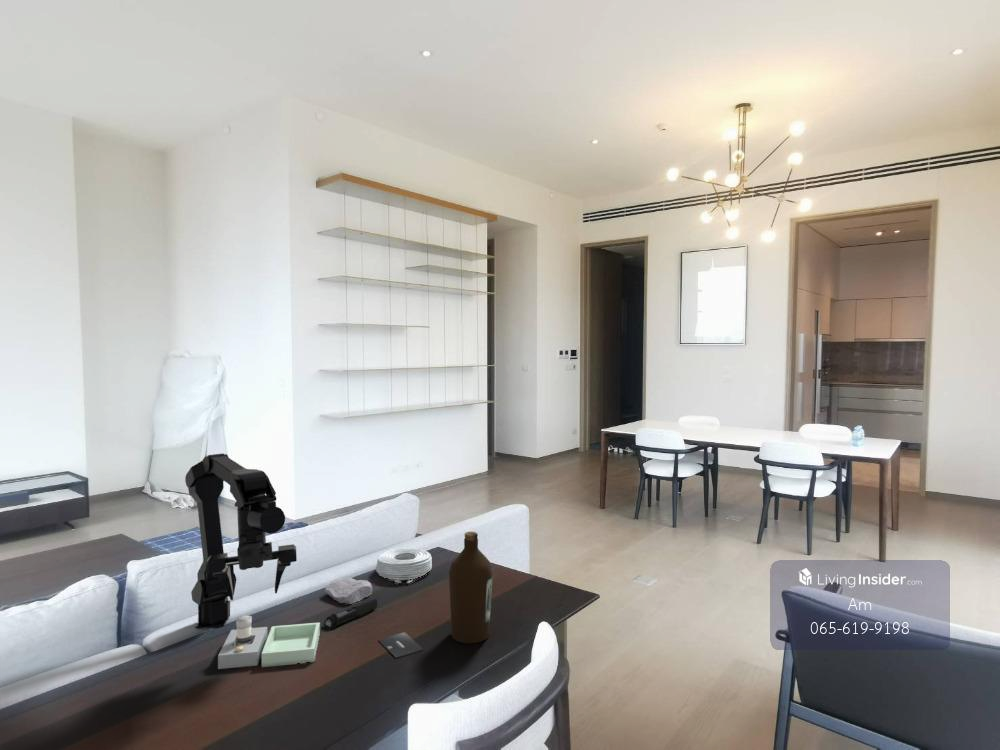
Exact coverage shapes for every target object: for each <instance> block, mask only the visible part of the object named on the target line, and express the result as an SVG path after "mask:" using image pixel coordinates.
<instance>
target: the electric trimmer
mask: <svg viewBox="0 0 1000 750" xmlns="http://www.w3.org/2000/svg"><path fill="white" fill-rule="evenodd" d="M377 607H378V599H377V598H373V599H370V600H368V601H365V602H362V603H360V604H357V605H354V606H352V607H350V608H346V609H344V610H342V611H339V612H337V613H331V615H329V616H327V617H326V618H325V620H324V623H323V627H324V626H325V627H327V628H328V629H327V628H326V629H327V630H329V629H330V630H331V631H332V630H335V629H336V628H337V626H339V625H342V624H344V623H347V622H348V621H350V620H354V619H355V618H357V617H359V618H361V617H363V616H364V615H367V614H368V613H370V612H372V611H373V610H375V609H376V608H377ZM357 619H358V618H357ZM325 627H324V628H325ZM334 628H335V629H334Z"/></svg>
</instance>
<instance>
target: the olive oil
mask: <svg viewBox="0 0 1000 750" xmlns="http://www.w3.org/2000/svg"><path fill="white" fill-rule="evenodd" d="M478 534H479V533H478V532H476V531H467V532H465V533H464V540H463V543H464V544H463V545H464V546H463V549H462V550H461V552H460V553H459V554H458V555H456V556H455V557H454V559H453V560H452V562H451V564H450V568H449V570H448V582H449V604H450V605H449V606H450V635H451V637H452V639H453V640H454V641H456V642H458V643H462V644H478V643H481V642H483V641H486V640H487V639H488V638H489V637H490V631H491V630H490V628H491V627H490V626H491V609H492V605H491V604H492V591H493V590H492V589H493V567H492V564H491V562H490V560H489V559H488V558H487V557H486V555H485V554H483V553H482V551H481V550H480V549H479V539H478V537H479V535H478Z"/></svg>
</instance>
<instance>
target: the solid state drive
mask: <svg viewBox="0 0 1000 750" xmlns="http://www.w3.org/2000/svg"><path fill="white" fill-rule="evenodd" d="M378 642H379V644H381V645H382V647H384V649H385V650H386V651H387V650H388V651H389V652H390V653H391V654H392V655H393V656H394V657H393V656H392V655H391V654H390V653H389V652H388V651H387V652H388V653H389V654H390V655H391V656H392V657H393V658H394V659H396V658H397V659H400V658H403V657H406V656H410V655H413V654H417V653H420V652H423V650H424V648H423V647H421V645H419V644H418V643H417V642H416V641H415V640H414V639H413V638H412V637H411V636H410V635H409V634H407V632H404V631H403V632H401V633H397V634H393V635H390V636H387V637H384V638H379V639H378ZM397 659H396V660H397Z"/></svg>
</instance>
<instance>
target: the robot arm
mask: <svg viewBox="0 0 1000 750" xmlns="http://www.w3.org/2000/svg"><path fill="white" fill-rule="evenodd" d="M184 477H185V480H184V481H185V482H184V483H185V486H186V487H187V490H188V494H189V496H190V497H191V498H192V499H193V500H194V501H195V502H196V504H197V512H198V522H199V532H200V541H201V542H200V543H201V551H202V563H201V565H200V567H199V569H198V572H197V575H196V576H197V581H196V582H195V584H194V586H193V588H192V590H191V593H190V594H191V600H192V602H194V603H195V604H196V605H197V610H198V611H197V612H198V613H197V617H198V618H197V619H198V620H197V621H198V622H197V624H196V625H195V629H202V628H203V629H204V628H205V629H206V628H216V627H224V626H225V624H226V623H227V621H228V620H229V619H230V617H231V601H234V594H235V591H236V585H237V576H236V574H235V572H234V571H235V570H234V566H238V568H239V570H240V571H246V570H247V569H248V570H249V569H253V568H254V569H259V568H261V567H264V562H267V561H273V560H276V561H277V562H276V569H275V572H276V573H275V581H274V582H275V583H274V593H275V594H278V591H279V587H280V584H281V583H280V582H281V580H282V577H283V574H284V572H285V569H286V567H290V566H291V565H292V563H295V562H297V546H296V545H295V544H294V543H293V544H284V545H278V548H277V550H273V544H272V541H270V542H267V539H266V538H267V536H266V534H272V535H273V534H275V533H277V532H279V531H280V530H282V528H283V526H284V525H285V523H286V515H285V512H284V511H283V510H282V509H281V508H280V507H279V506H277V502H276V501H277V496H276V494H277V493H276V490H275V488H274V487H273V484H272V483H271V481H270V478H269V475H267V473H266V472H265V471H263V470H261V469H255V468H253V469H252V468H251V469H250V468H246V467H244V466H242V465H241V464H239V463H238V462H236V461H235V460H233V459H231V458H230V457H229V455H228V454H227V453H215V454H214V453H213V454H208V455H205V456H204V457H203V458H202V460H200V461H199V462H198V463H196V464H194V465H192V466H191V467H190V468H189V470H188V471H187V472H186V475H185V476H184ZM224 482H225V483H226V484H228V485H229V492H230V494H231V495H232V497H233V499H235V501H236V502H234V507H235V508H237V533H238V535H237V537H238V541H237V542H238V546H237V552H236V553H237V555H235V556H228V552H225V551H224V544H223V543H224V542H223V534H222V524H221V517H220V516H221V515H220V506H219V498H220V496H221V494H222V492H223V490H224ZM229 599H230V600H229Z"/></svg>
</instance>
